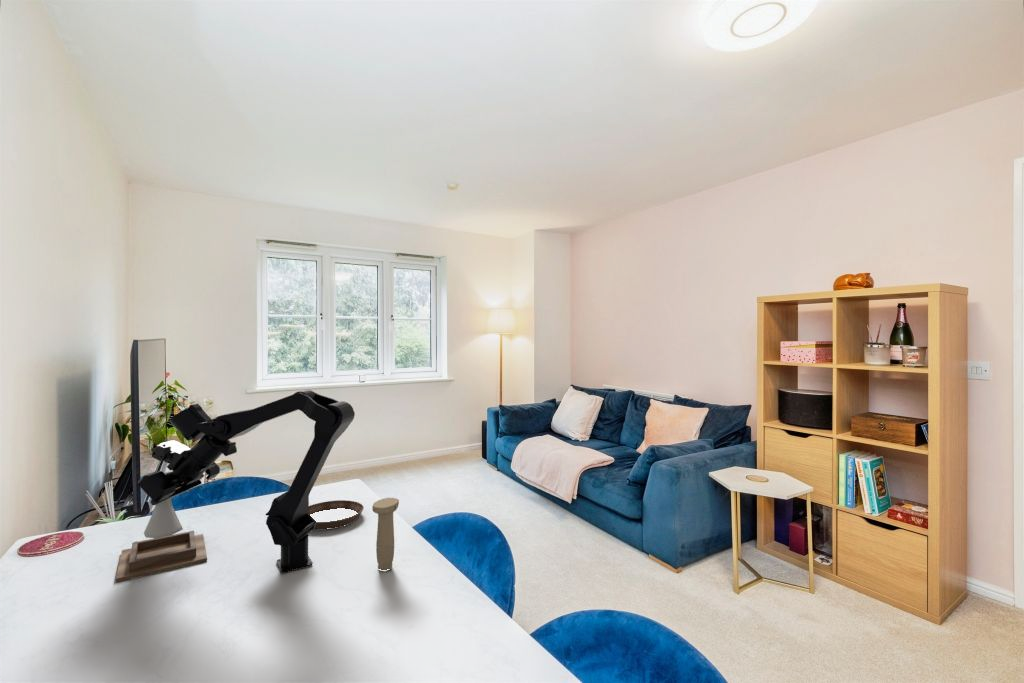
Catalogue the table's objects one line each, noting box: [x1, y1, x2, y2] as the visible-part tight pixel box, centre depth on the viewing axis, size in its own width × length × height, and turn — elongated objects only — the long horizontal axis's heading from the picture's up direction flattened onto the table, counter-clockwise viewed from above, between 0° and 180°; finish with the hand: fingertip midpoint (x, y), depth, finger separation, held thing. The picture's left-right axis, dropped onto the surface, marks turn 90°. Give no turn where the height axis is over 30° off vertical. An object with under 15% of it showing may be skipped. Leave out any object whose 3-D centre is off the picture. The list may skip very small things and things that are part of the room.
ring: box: [307, 499, 364, 530], centre depth 131 cm, size 18×18×3 cm
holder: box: [115, 530, 208, 583], centre depth 108 cm, size 16×16×3 cm
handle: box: [371, 497, 400, 570], centre depth 104 cm, size 5×6×15 cm
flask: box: [143, 498, 183, 539], centre depth 107 cm, size 7×7×10 cm
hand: (158, 501), depth 107 cm, fingers closed on flask, 3 cm apart
